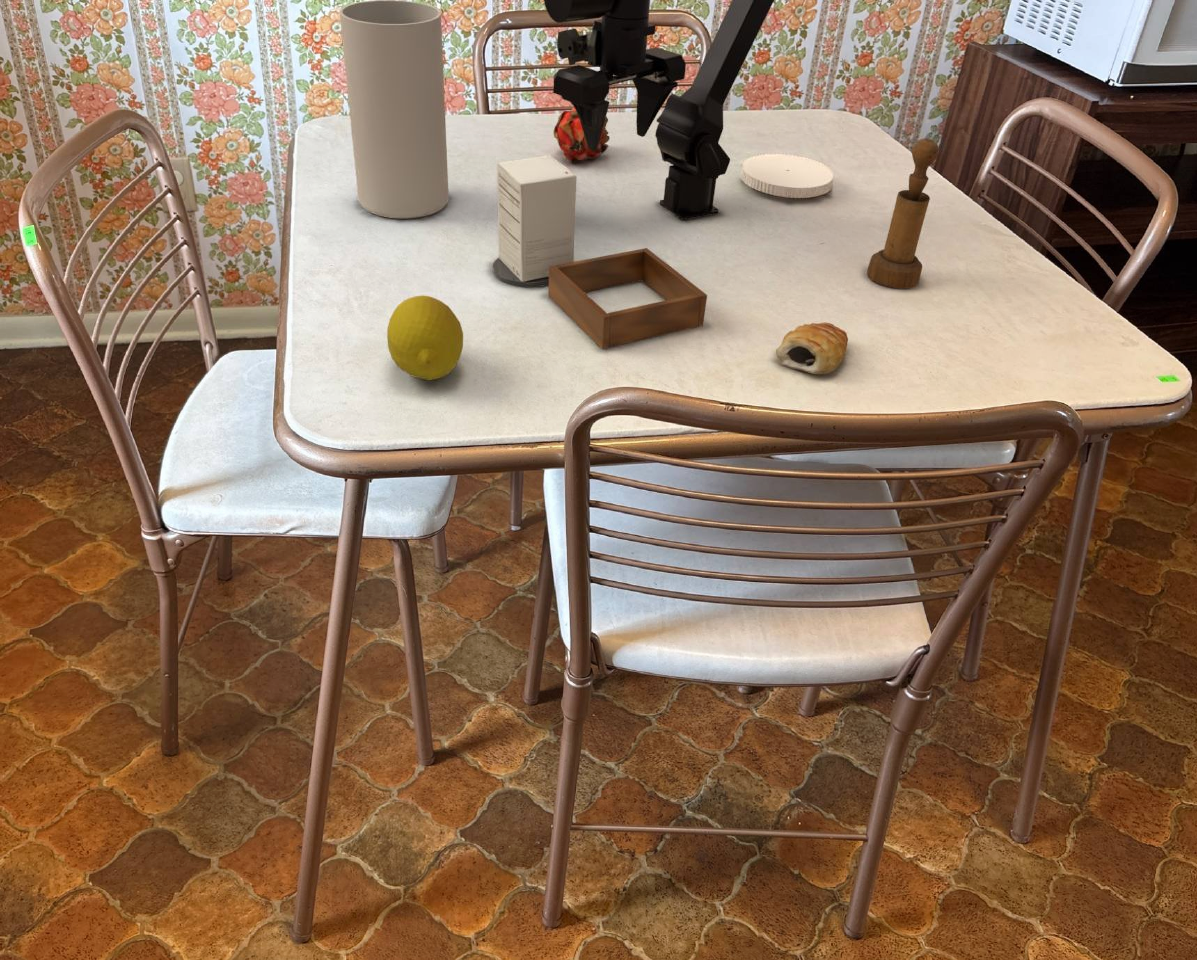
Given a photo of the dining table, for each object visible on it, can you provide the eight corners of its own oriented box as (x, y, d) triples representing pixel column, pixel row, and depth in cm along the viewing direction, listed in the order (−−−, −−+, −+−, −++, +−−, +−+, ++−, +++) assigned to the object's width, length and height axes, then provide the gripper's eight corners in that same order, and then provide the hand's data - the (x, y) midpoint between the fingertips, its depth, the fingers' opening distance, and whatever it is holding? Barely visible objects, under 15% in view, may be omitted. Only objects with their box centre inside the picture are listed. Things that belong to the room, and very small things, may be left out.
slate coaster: (544, 250, 130) (544, 246, 129) (576, 279, 124) (576, 275, 123) (481, 262, 126) (481, 257, 126) (510, 292, 120) (510, 288, 120)
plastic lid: (849, 194, 151) (853, 178, 150) (782, 211, 145) (785, 194, 143) (787, 164, 160) (790, 148, 159) (721, 178, 154) (723, 162, 152)
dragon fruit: (590, 153, 164) (579, 189, 155) (549, 120, 161) (536, 156, 152) (622, 116, 158) (613, 152, 150) (580, 81, 155) (568, 116, 147)
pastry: (806, 331, 116) (813, 302, 114) (860, 350, 114) (867, 321, 111) (770, 362, 110) (776, 332, 108) (825, 384, 107) (833, 353, 105)
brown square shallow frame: (644, 277, 125) (646, 247, 123) (703, 325, 116) (707, 295, 114) (548, 296, 120) (548, 266, 117) (602, 349, 111) (604, 317, 108)
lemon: (463, 397, 101) (461, 328, 97) (386, 397, 101) (379, 328, 96) (465, 343, 110) (463, 277, 105) (394, 343, 109) (388, 277, 104)
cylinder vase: (341, 209, 137) (319, 15, 121) (389, 179, 146) (374, -5, 131) (420, 227, 133) (408, 30, 118) (464, 196, 143) (458, 9, 127)
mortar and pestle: (920, 272, 131) (958, 136, 120) (916, 293, 126) (955, 153, 115) (870, 263, 132) (902, 127, 121) (863, 283, 127) (897, 143, 116)
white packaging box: (549, 249, 129) (551, 153, 121) (574, 273, 124) (578, 175, 116) (496, 258, 126) (495, 160, 118) (520, 283, 121) (520, 183, 113)
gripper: (629, -9, 129) (620, 113, 139) (523, 10, 118) (522, 141, 128) (694, 9, 123) (681, 135, 133) (589, 30, 112) (583, 166, 122)
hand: (617, 143), depth 129 cm, fingers open, 9 cm apart
